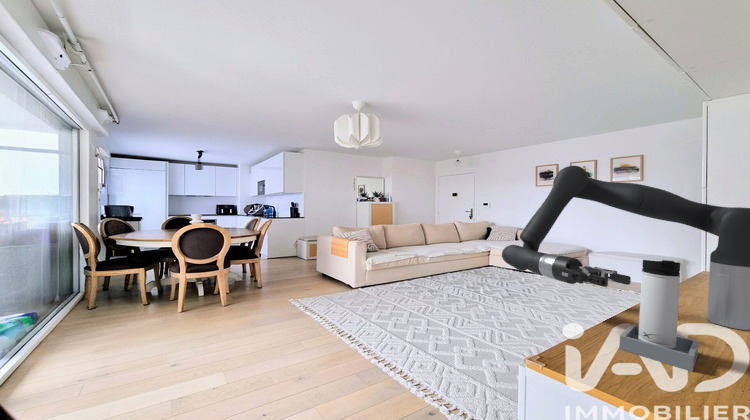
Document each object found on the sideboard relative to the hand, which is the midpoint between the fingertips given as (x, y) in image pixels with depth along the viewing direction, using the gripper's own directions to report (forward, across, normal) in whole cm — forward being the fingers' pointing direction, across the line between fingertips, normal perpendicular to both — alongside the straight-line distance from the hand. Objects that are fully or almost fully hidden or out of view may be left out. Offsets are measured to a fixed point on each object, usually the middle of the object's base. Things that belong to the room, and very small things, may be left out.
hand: (618, 281), depth 77 cm
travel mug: (+9, 0, +13) cm, 15 cm away
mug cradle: (+9, 0, +14) cm, 16 cm away
